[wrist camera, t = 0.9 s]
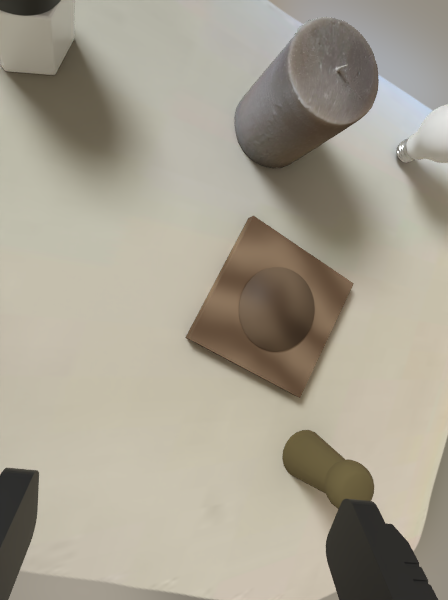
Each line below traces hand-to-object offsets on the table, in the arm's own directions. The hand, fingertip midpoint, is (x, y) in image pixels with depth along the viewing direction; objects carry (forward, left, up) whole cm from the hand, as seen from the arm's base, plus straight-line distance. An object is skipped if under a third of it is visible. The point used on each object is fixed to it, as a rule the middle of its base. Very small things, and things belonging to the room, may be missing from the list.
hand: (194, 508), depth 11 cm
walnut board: (+13, -16, -35) cm, 41 cm away
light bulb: (+41, -23, -35) cm, 59 cm away
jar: (+24, +21, -35) cm, 48 cm away
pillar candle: (+32, -5, -35) cm, 48 cm away
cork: (-1, -29, -35) cm, 46 cm away
